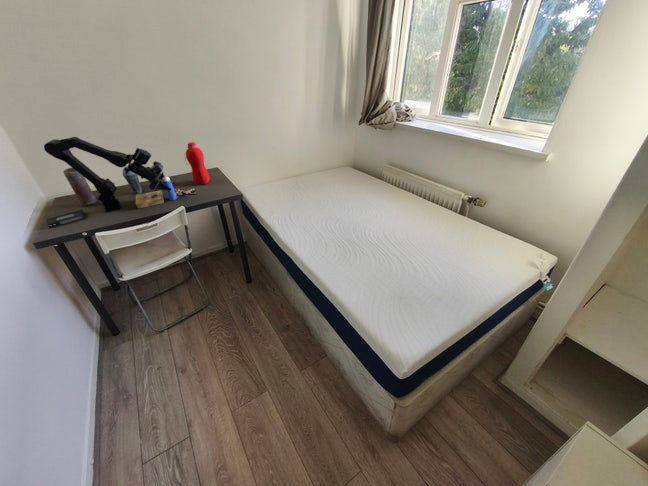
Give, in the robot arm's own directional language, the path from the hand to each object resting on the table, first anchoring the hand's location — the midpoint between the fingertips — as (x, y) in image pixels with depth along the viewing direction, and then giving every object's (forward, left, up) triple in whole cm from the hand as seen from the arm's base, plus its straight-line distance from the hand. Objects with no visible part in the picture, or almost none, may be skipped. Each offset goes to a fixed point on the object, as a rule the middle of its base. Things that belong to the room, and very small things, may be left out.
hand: (171, 186), depth 154 cm
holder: (-13, +3, -7) cm, 15 cm away
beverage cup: (-19, +21, -7) cm, 29 cm away
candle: (-43, +18, -7) cm, 47 cm away
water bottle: (+17, +17, -7) cm, 25 cm away
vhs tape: (-51, +2, -7) cm, 52 cm away
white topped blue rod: (-1, 0, -7) cm, 7 cm away
